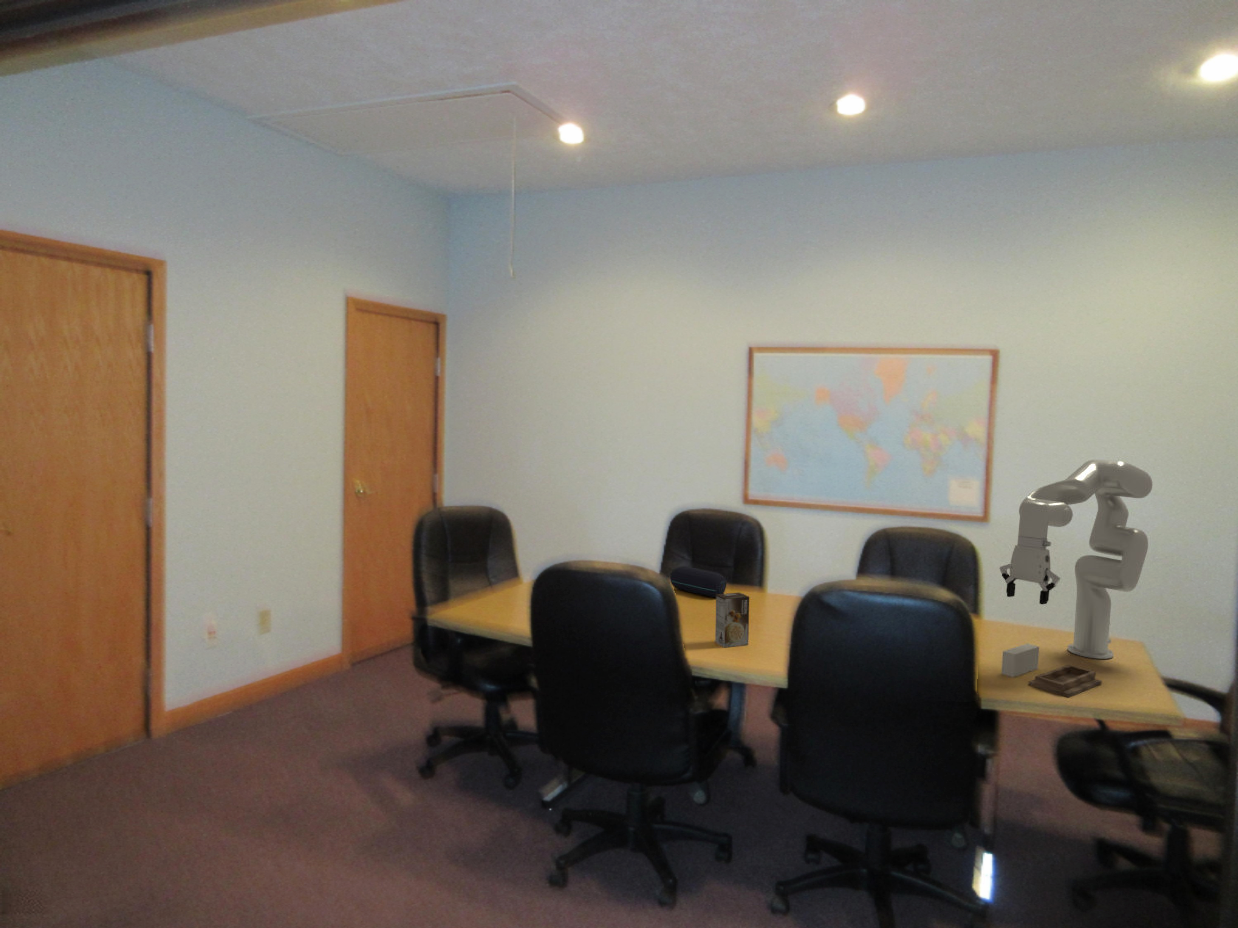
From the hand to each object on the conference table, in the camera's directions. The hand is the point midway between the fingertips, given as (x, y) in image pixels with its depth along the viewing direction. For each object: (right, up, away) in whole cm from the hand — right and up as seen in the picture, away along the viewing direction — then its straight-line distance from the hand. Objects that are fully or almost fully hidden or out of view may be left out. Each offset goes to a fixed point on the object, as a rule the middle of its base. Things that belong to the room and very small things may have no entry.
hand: (1026, 600), depth 231 cm
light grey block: (-1, -22, +2) cm, 22 cm away
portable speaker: (-88, -13, +90) cm, 126 cm away
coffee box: (-84, -18, +23) cm, 89 cm away
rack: (+6, -23, -9) cm, 25 cm away
